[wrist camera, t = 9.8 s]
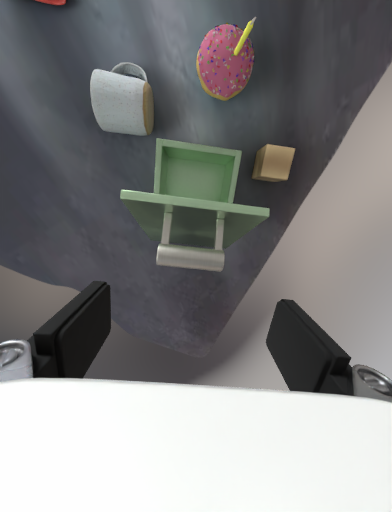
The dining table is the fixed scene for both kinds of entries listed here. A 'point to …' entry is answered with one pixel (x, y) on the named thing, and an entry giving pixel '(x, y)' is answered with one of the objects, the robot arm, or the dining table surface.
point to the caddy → (196, 171)
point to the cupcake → (225, 60)
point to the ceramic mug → (122, 100)
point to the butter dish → (53, 2)
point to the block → (273, 163)
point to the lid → (191, 227)
